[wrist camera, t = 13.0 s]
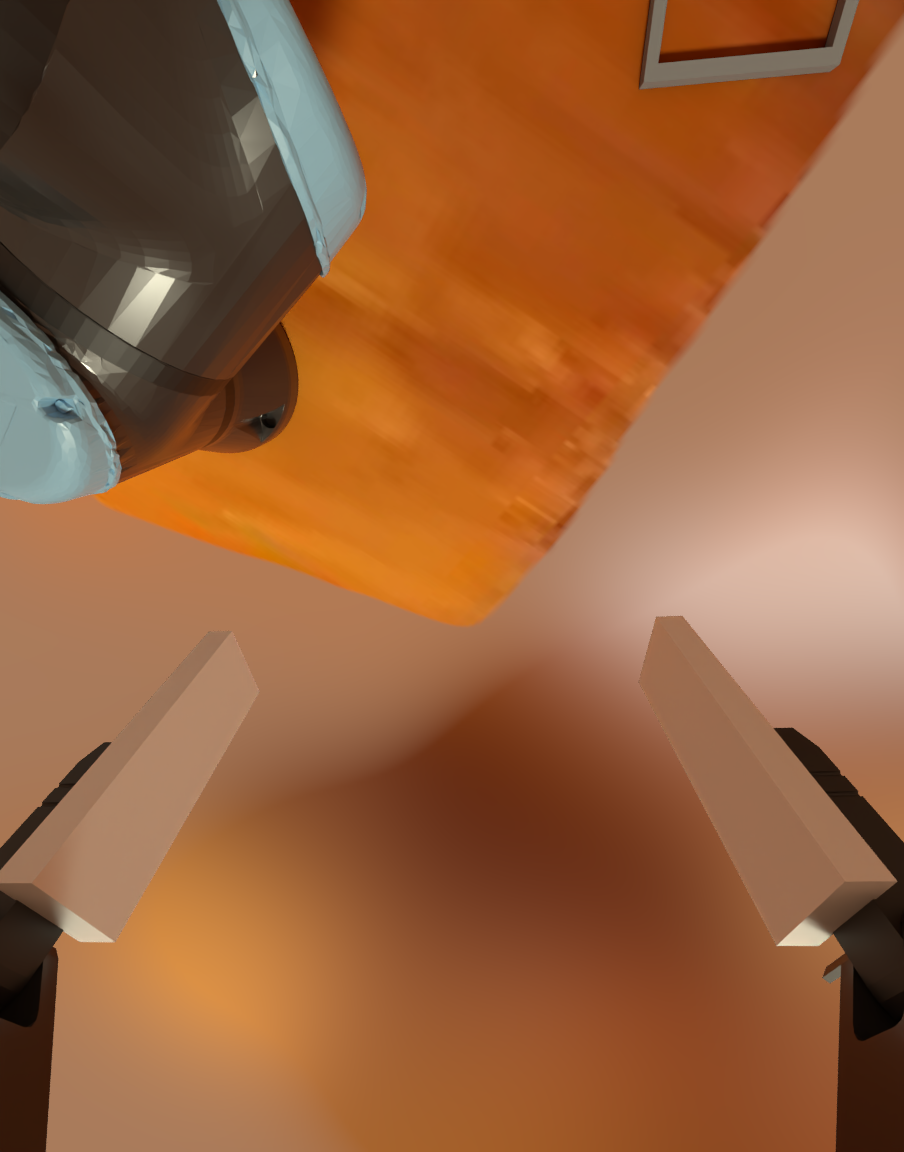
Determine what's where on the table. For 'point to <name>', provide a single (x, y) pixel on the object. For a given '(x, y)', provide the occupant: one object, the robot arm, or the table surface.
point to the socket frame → (744, 64)
